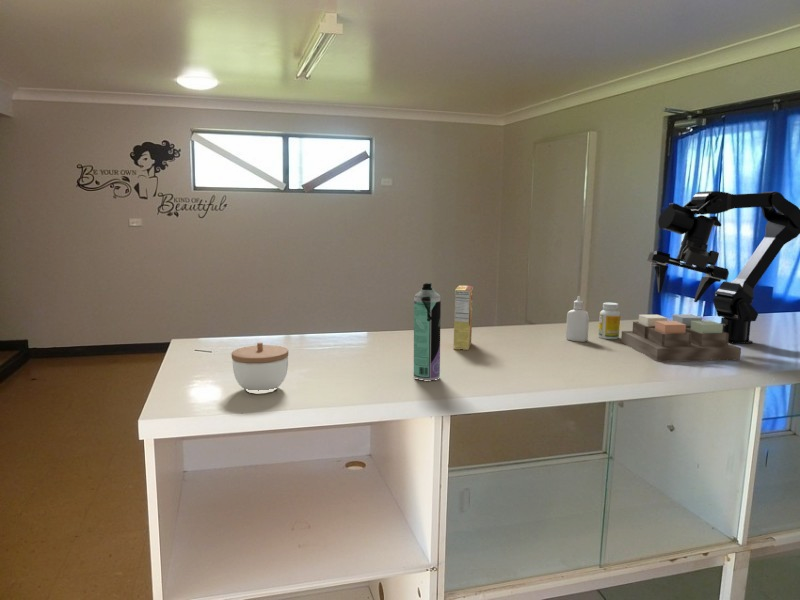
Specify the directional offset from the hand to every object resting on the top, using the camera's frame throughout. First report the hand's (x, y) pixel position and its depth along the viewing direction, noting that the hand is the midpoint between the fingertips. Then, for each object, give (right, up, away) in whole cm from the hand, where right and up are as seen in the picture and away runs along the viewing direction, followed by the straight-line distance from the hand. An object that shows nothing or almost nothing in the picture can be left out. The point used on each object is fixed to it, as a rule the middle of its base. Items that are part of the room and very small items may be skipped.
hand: (677, 297), depth 153 cm
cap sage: (+2, -9, -10) cm, 14 cm away
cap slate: (+2, -8, -2) cm, 8 cm away
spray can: (-67, -17, -30) cm, 75 cm away
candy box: (-56, -13, -1) cm, 57 cm away
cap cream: (-7, -8, -2) cm, 11 cm away
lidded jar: (-99, -18, -38) cm, 108 cm away
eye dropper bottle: (-24, -12, +7) cm, 28 cm away
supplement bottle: (-14, -11, +10) cm, 21 cm away
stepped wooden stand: (-3, -13, -5) cm, 15 cm away
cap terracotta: (-7, -9, -11) cm, 16 cm away
